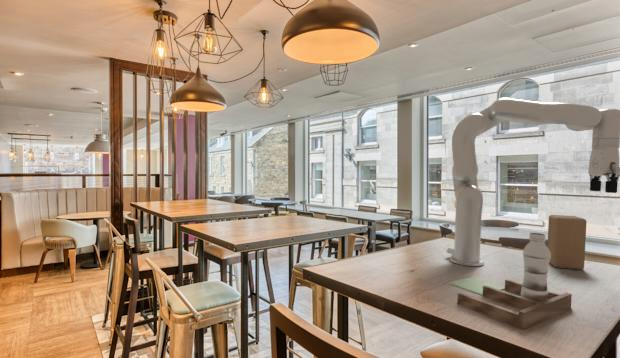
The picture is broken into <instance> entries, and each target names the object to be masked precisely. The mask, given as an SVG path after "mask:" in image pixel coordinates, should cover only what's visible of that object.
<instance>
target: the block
mask: <svg viewBox="0 0 620 358" xmlns="http://www.w3.org/2000/svg"><path fill="white" fill-rule="evenodd" d="M587 222H588V221H587V220H586V219H585V218H583V217H579V216H575V215H562V214H550V215H549V216H548V225H547V227H548V229H547V245H546V246H547V247H548V249H549V250H550V253H551V258H550V262H549V265H550V264H551V265H552V266H553V267H554V268H556V267H557V268H559V269H566V268H567V269H568V270H576V269H577V270H576V271H582V270H584V269H585V260H586V259H585V257H586V240H587V239H586V238H587V237H586V235H587ZM557 268H556V269H557Z"/></svg>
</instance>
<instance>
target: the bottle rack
mask: <svg viewBox="0 0 620 358" xmlns="http://www.w3.org/2000/svg"><path fill="white" fill-rule="evenodd" d="M522 286H523V282H522V283H521V282H518V281H514V280H511V279H508V278H506V279H505V280H504V288H505V289H504V290H505V291H504V290H498V289H495V288H492V287H489V286H483V295H482V297H484V298H487V299H490V300H493V301H496V302H498V303H501V304H504V305H506V306H507V305H508V306H510V307H512V308H516V309H518V312H516V311H514V310H510V309H507V308H504V307H502V306H499V305H496V304H493V303H491V302H488V301H485V300H483V299H480V298H477V297H473V296H471V295H469V294H466V293H463V292H458V293H457V297H456V298H457V300H456V302H457V305H459V306H461V307H464V308H467V309H469V310H472V311H475V312H477V313H479V314H482V315H484V316H487V317H488V318H493V319H495V320H497V321H500V322H503V323H505V324H507V325H510V326H512V327H516V328H517V329H521V330H523V331H524V330H526V329H529V328H531V327H533V326H535V325H537V324H540V323H541V322H544V321H546V320H548V319H550V318H553V317H555V316H558V315H560V314H561V313H564V312H565V311H567V310H570V309H572V296H573V295H572V293H569V292H565V293H561V294H560V293H557V292H553V291H551V290H548V295H549V299H548V300H546V301H543V302H541V303H539V302H536V301H533V300H530V299H527V298H523V297H521V294H520V293H521V289H522ZM507 291H509V292H507ZM510 292H511V293H510ZM512 292H513V293H512ZM514 293H516V294H519V295H516V294H514ZM532 325H533V326H532ZM530 326H531V327H530ZM528 327H529V328H528Z"/></svg>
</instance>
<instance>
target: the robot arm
mask: <svg viewBox="0 0 620 358" xmlns="http://www.w3.org/2000/svg"><path fill="white" fill-rule="evenodd" d="M505 121H506V122H513V123H520V124H525V125H532V126H542V125H543V126H544V125H551V124H552V125H565V127H566V128H567V129H568V130H570V131H572V132H583V131H592V139H591V152H590V157H589V161H588V162H589V163H588V175H589V183H590V184H589V191H590V192H601V190H602V180H601V179H602V177H603V176H605V179H606V180H605V185H604V186H605V187H604V188H605V189H604V191H605V193H606V194H607V193H609V194H610V193H611V194H612V193H613V194H617V193H618V182H619V180H620V179H619V178H620V150H619V149H620V109H617V108H605V109H604V108H603V109H598V108H596V107H594V106H590V105H584V104H583V105H582V104H576V103H567V102H566V103H565V102H543V101H541V102H539V101H532V100H526V99H525V100H524V99H516V98H510V97H501V98H500V97H499V98H498V99H495V101H494V102H492V104H491V105H489V106H488V107H486V108H485V109H483V110H481V111H479V112H474V113H470V114H468V115H466V116H465V117H464V118H462V119H461V120H460V122H458V124H457V125H456V127H455V128H454V129H453V130H454V131H453V133H452V137H451V150H452V152H451V153H452V160H453V161H452V162H453V164H452V169H451V174H452V182H453V190H454V191H453V192H454V197H455V202H456V203H455V222H454V223H455V224H454V225H455V226H454V248H451V247H448V248H447V249H446V253H447V254H450V255H451V256H449V261H450V262H452V263H454V264H457V265H461V266H467V267H481V266H484V264H485V261H484V260H483V259H481V257H480V255H481V238H482V237H481V236H482V216H483V215H482V213H483V205H484V195H483V192H482V191H481V188H479V184H478V174H479V167H478V162H477V154H476V138H477V137H479V136H480V135H483V134H484V133H486V132H487V131H489V130H491V129H493V128H495V127H496V126H499V125H500V124H502V123H503V122H505Z"/></svg>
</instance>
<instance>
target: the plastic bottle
mask: <svg viewBox="0 0 620 358" xmlns="http://www.w3.org/2000/svg"><path fill="white" fill-rule="evenodd" d="M528 240H529V242H527V244H526V245H525V246H524V248H523V251H522V255H523V257H522V258H523V265H524V266H523V269H524V272H523V281H522V284H523V286H522V289H521V293H520V294H519V295H520V297H523V298H527V299H530V300H533V301H536V302H539V303H541V302H543V301H546V300H548V299H549V295H548V291H549V290H548V272H549V265H550V263H549V262H550V258H551V253H550V250H549V249H548V247H547V245H546V243H545V242H547V241H546V233H542V232H541V233H540V232H530V233H529V237H528Z"/></svg>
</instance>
